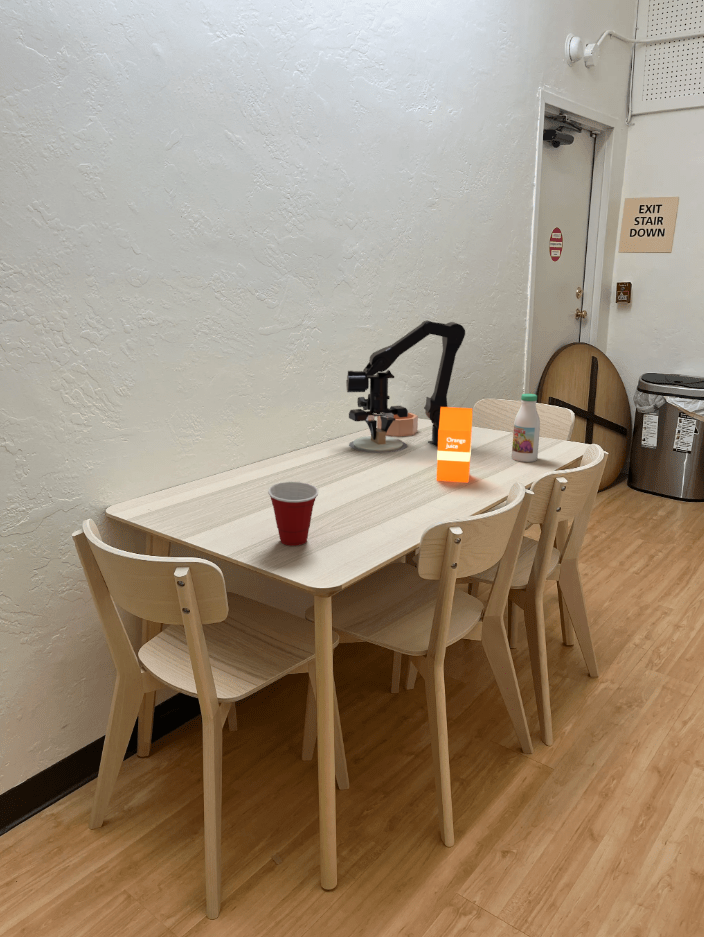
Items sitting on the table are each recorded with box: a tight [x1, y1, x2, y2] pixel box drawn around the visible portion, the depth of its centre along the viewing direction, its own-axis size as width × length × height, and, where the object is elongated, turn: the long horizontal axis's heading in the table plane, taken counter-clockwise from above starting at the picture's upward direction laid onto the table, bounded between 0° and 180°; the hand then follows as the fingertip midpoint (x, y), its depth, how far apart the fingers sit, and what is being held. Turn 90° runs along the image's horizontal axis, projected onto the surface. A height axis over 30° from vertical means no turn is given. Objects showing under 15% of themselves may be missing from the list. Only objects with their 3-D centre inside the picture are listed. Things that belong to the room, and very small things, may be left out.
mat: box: [348, 440, 408, 454], centre depth 232 cm, size 19×19×1 cm
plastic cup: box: [267, 481, 319, 547], centre depth 153 cm, size 11×11×12 cm
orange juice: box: [436, 406, 473, 483], centre depth 197 cm, size 8×9×20 cm
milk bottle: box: [511, 393, 541, 463], centre depth 215 cm, size 8×8×20 cm
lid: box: [353, 427, 404, 451], centre depth 231 cm, size 16×16×5 cm
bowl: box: [376, 412, 419, 438], centre depth 249 cm, size 13×13×6 cm
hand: (378, 439), depth 232 cm, fingers open, 3 cm apart
